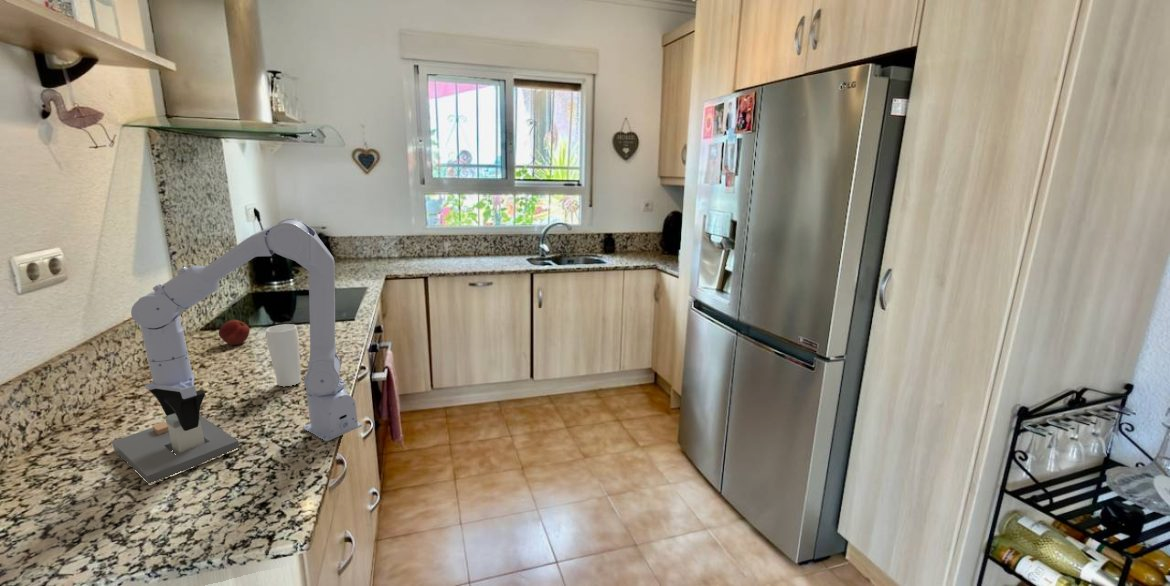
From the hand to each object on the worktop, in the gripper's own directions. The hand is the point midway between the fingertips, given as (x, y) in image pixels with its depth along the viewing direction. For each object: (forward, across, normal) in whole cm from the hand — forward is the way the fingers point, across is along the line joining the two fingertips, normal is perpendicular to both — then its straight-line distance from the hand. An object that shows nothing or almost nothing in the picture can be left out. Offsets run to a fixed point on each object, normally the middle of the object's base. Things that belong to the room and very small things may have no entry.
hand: (183, 422), depth 95 cm
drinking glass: (+7, -17, +27) cm, 33 cm away
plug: (+6, 0, 0) cm, 6 cm away
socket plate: (+6, -3, -1) cm, 7 cm away
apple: (+7, -61, +32) cm, 69 cm away
